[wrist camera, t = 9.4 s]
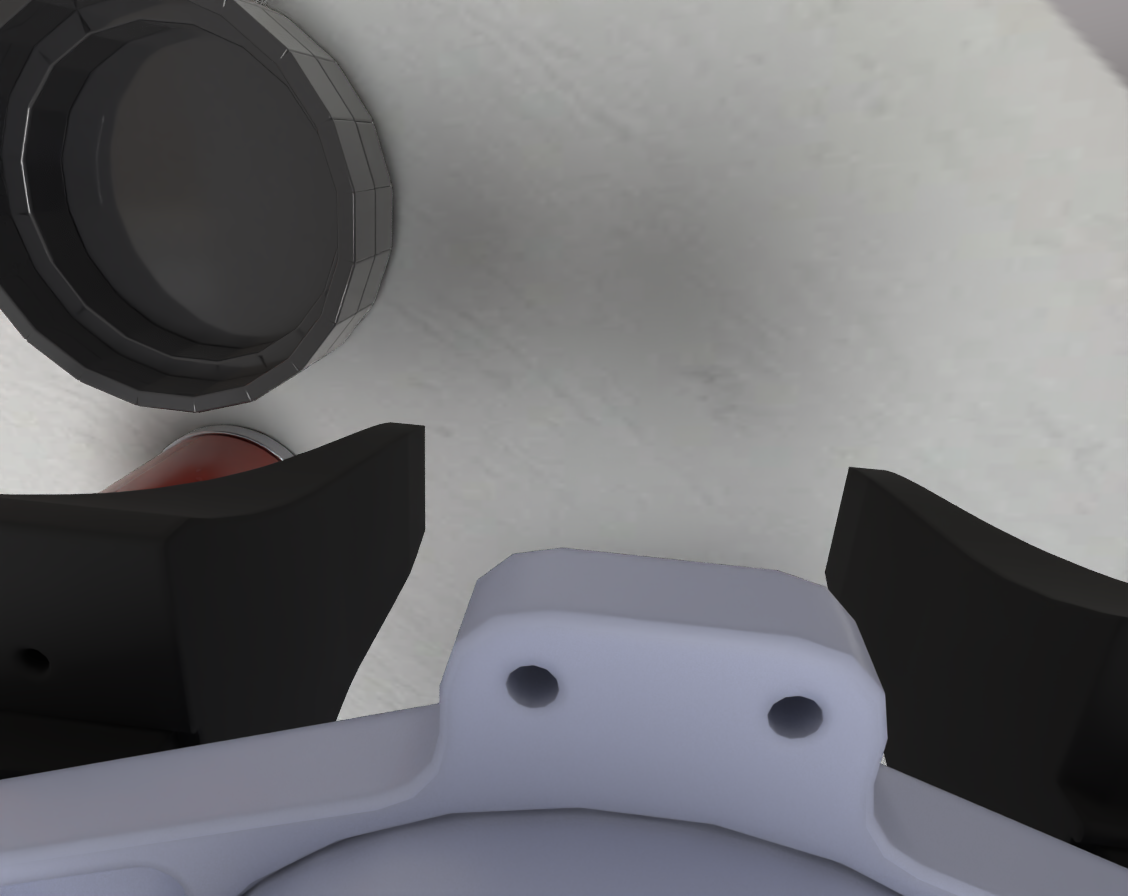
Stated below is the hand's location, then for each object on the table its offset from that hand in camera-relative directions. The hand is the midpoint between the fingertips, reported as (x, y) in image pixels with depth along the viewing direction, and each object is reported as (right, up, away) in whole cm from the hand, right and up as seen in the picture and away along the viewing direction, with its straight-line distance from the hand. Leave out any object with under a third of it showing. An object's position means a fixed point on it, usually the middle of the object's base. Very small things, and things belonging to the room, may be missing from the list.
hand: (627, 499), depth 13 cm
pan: (-11, +8, +8) cm, 16 cm away
